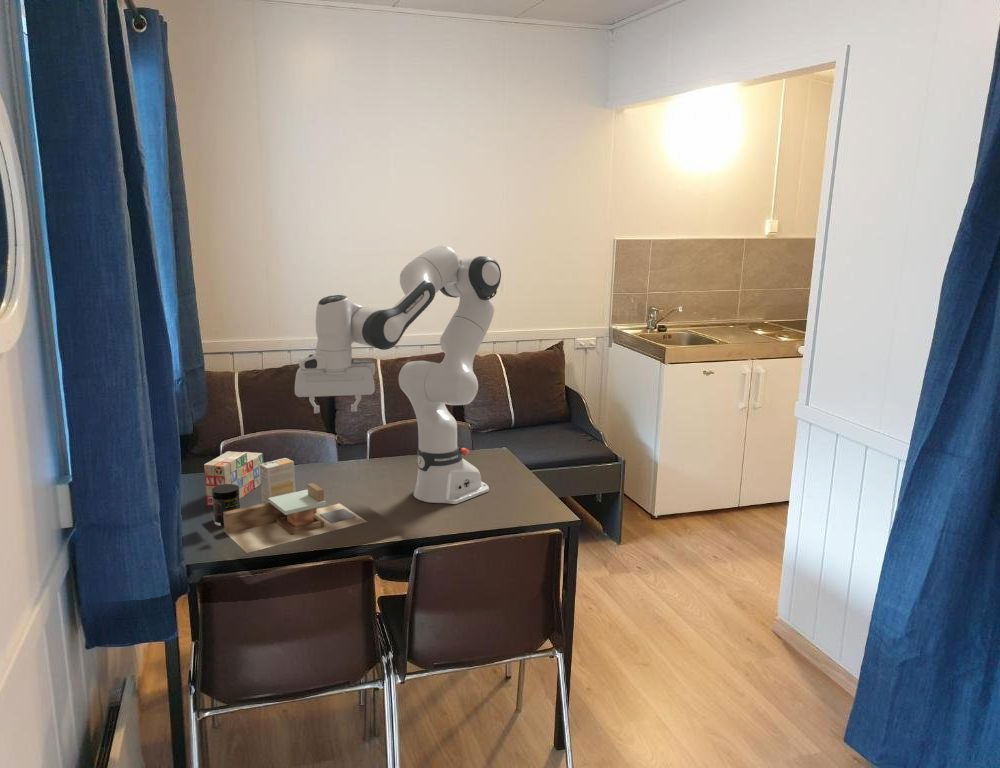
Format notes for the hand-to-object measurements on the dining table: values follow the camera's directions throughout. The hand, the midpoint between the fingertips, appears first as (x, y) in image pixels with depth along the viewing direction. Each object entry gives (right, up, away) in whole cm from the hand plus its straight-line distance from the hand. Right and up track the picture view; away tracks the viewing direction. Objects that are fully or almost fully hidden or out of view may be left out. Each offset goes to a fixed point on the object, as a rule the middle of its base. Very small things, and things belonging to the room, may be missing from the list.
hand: (335, 412), depth 202 cm
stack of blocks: (-34, -25, +25) cm, 49 cm away
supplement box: (-19, -27, +15) cm, 36 cm away
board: (-10, -31, -2) cm, 32 cm away
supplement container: (-28, -30, +1) cm, 41 cm away
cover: (-10, -23, -1) cm, 25 cm away
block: (-9, -29, -1) cm, 30 cm away
